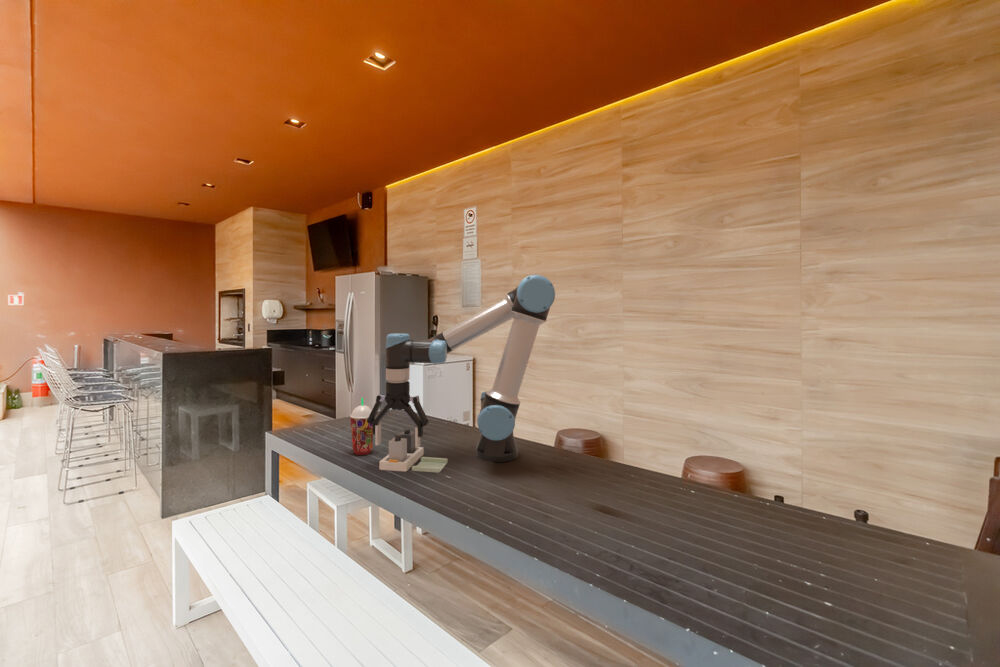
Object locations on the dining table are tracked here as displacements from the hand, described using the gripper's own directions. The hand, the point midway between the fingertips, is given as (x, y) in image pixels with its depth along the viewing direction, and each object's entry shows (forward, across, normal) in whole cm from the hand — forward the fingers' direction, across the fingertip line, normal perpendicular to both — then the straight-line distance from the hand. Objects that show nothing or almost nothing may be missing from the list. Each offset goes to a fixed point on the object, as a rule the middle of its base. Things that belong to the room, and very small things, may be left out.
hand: (397, 445), depth 146 cm
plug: (+6, 0, 0) cm, 6 cm away
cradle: (+7, -10, -2) cm, 13 cm away
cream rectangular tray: (+7, 0, -4) cm, 8 cm away
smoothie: (+7, +18, -12) cm, 23 cm away
